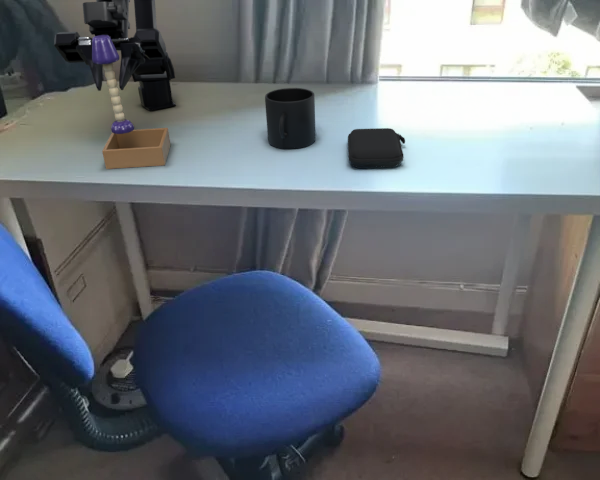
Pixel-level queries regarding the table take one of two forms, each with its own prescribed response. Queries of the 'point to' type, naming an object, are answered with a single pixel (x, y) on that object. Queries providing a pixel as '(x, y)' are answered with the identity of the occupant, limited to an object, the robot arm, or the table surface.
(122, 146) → the box
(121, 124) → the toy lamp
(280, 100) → the mug
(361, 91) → the table surface
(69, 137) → the table surface
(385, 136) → the carrying case
